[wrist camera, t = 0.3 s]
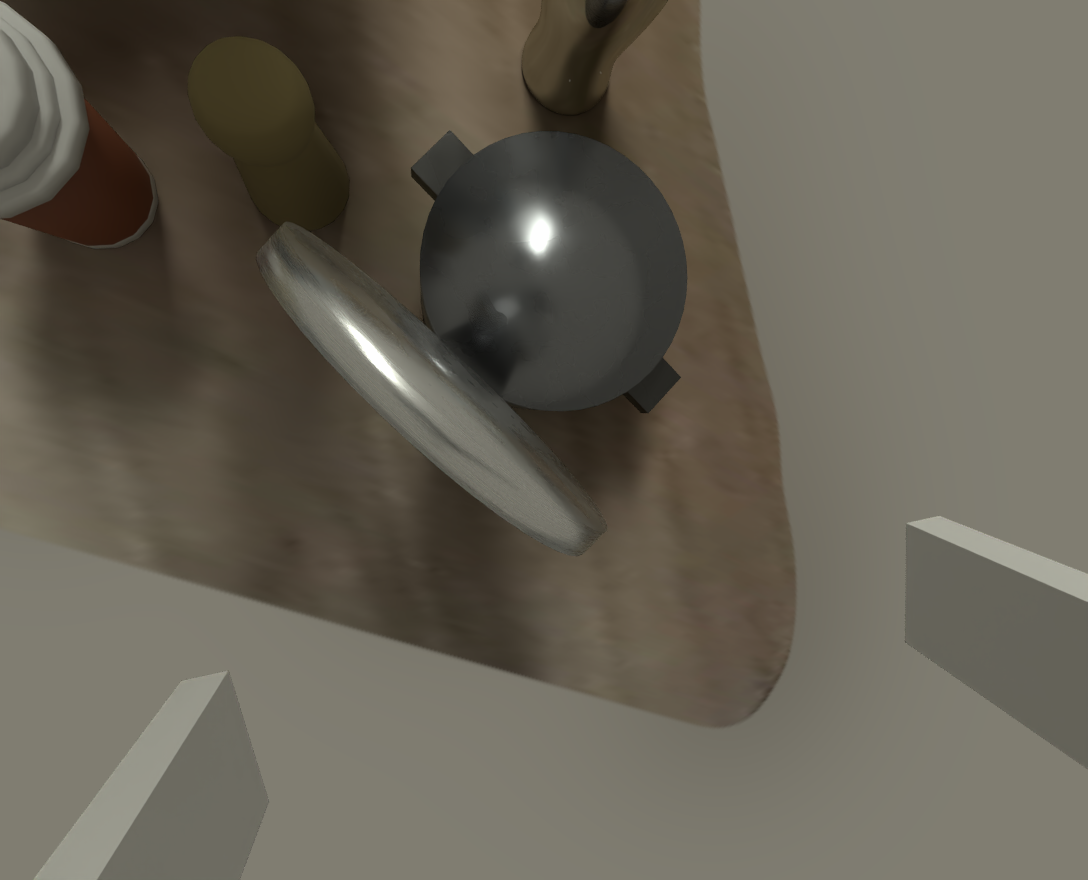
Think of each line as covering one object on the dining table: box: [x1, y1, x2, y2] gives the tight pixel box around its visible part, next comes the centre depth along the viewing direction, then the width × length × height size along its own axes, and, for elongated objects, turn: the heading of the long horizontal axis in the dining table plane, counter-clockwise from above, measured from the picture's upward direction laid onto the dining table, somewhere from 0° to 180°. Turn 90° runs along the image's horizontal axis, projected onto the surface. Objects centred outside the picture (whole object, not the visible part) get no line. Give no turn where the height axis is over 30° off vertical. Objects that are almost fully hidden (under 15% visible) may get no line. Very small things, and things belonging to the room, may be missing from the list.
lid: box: [256, 222, 608, 556], centre depth 22 cm, size 16×16×2 cm
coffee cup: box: [0, 1, 158, 249], centre depth 26 cm, size 9×9×12 cm
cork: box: [188, 36, 349, 231], centre depth 29 cm, size 6×6×11 cm
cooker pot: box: [411, 130, 687, 413], centre depth 34 cm, size 16×19×8 cm
